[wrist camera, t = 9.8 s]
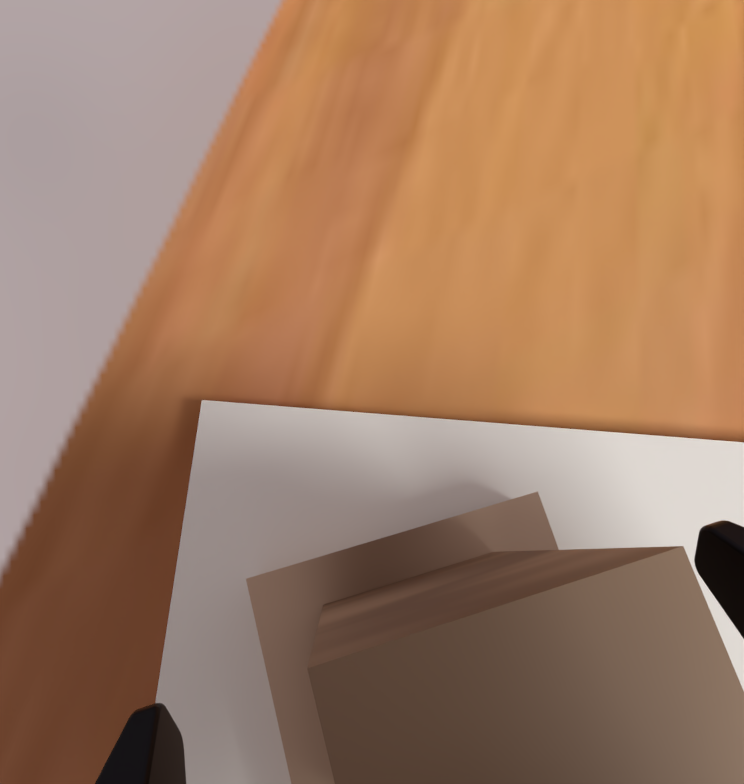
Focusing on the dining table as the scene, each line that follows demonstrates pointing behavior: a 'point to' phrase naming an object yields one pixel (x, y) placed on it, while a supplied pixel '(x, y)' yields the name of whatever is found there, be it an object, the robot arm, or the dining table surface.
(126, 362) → the dining table surface
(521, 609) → the brown pedestal block
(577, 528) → the board
